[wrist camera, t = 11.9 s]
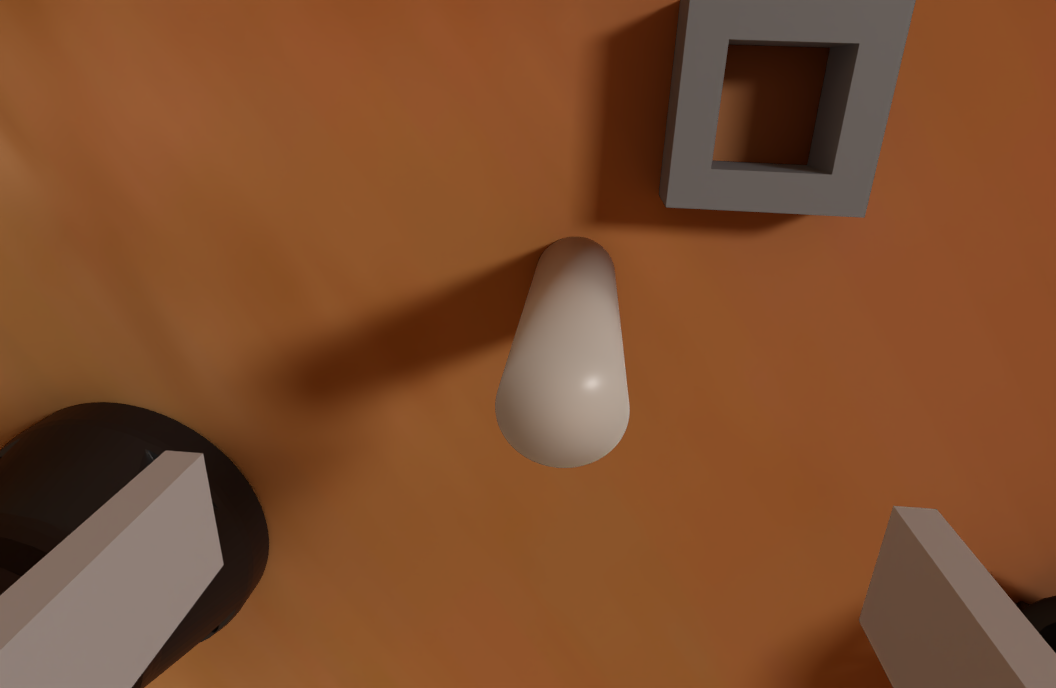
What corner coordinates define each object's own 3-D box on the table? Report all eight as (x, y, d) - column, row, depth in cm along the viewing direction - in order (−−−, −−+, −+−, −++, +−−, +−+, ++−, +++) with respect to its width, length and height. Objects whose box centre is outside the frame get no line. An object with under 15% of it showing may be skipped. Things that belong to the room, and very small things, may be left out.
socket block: (658, 194, 27) (665, 207, 25) (680, -1, 25) (691, -11, 22) (836, 203, 27) (864, 217, 24) (879, 5, 24) (916, -5, 21)
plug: (533, 310, 30) (493, 461, 18) (537, 233, 29) (497, 343, 17) (610, 315, 30) (621, 473, 18) (619, 239, 28) (636, 354, 16)
